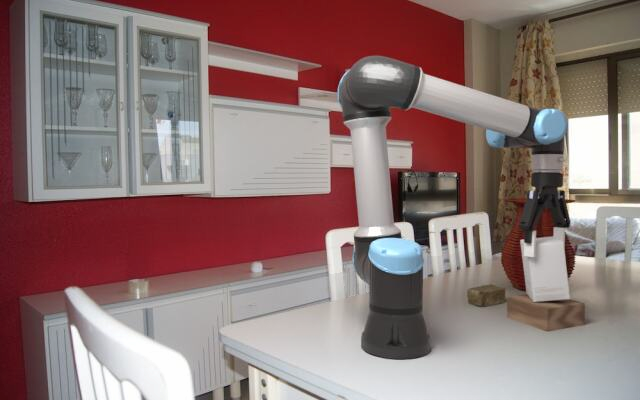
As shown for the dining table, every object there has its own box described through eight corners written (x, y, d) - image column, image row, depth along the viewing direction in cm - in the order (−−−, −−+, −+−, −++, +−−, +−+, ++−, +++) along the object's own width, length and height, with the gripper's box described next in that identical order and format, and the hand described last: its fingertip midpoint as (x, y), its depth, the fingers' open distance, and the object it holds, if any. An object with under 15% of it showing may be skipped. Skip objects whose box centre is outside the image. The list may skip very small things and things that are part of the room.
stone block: (465, 304, 147) (465, 287, 147) (491, 299, 154) (491, 283, 153) (481, 308, 142) (481, 291, 142) (507, 303, 149) (507, 286, 148)
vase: (556, 300, 150) (558, 201, 149) (486, 287, 168) (487, 199, 167) (587, 289, 166) (589, 199, 164) (519, 278, 183) (521, 197, 182)
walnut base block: (547, 333, 121) (547, 308, 120) (506, 319, 132) (507, 296, 132) (584, 326, 126) (584, 303, 126) (542, 313, 138) (542, 292, 137)
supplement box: (571, 299, 124) (564, 240, 123) (533, 303, 126) (526, 244, 125) (561, 290, 133) (554, 235, 132) (526, 293, 135) (519, 239, 134)
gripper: (533, 170, 117) (530, 260, 118) (586, 172, 131) (583, 252, 132) (505, 170, 123) (502, 256, 124) (558, 172, 137) (556, 248, 138)
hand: (544, 254), depth 128 cm, fingers open, 13 cm apart
